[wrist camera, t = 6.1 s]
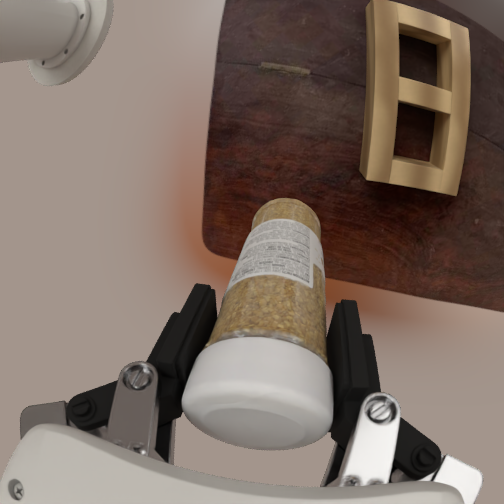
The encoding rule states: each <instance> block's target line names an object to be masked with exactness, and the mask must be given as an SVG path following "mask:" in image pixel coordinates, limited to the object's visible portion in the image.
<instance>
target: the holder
mask: <svg viewBox="0 0 504 504" xmlns="http://www.w3.org/2000/svg"><path fill="white" fill-rule="evenodd" d="M365 10H366V35H367V73H366V100H365V117H364V130H363V141H362V152H361V161H360V169H359V171H360V172H361V174H362V175H363V176H364V177H365V179H366V180H370V181H377V182H383V183H390V184H396V185H402V186H408V187H413V188H419V189H424V190H429V191H434V192H439V193H444V194H449V195H453V196H457V191H458V187H459V182H460V177H461V172H462V166H463V160H464V154H465V147H466V140H467V131H468V121H469V108H470V81H471V71H470V45H469V33H468V29H467V28H465V27H463V26H461V25H458V24H456V23H454V22H451V21H449V20H446V19H444V18H441V17H439V16H436V15H433V14H431V13H428V12H425V11H422V10H419V9H416V8H413V7H409V6H406V5H403V4H399V3H395V2H392V1H388V0H371V1H370V2H369V4H368V5H367V7H366V8H365ZM399 34H403V35H407V36H410V37H413V38H417V39H420V40H423V41H426V42H429V43H432V44H435V45H436V46H437V87H435V86H432V85H428V84H425V83H421V82H418V81H414V80H411V79H407V78H403V77H399ZM398 103H402V104H406V105H410V106H414V107H418V108H422V109H426V110H429V111H433V112H435V121H434V131H433V140H432V148H431V155H430V162H425V161H421V160H416V159H411V158H406V157H401V156H396V155H393V151H394V143H395V133H396V123H397V110H398Z"/></svg>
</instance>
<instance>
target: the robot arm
mask: <svg viewBox="0 0 504 504" xmlns="http://www.w3.org/2000/svg"><path fill="white" fill-rule="evenodd" d="M89 18H90V6H89V2H88V0H0V63H2V62H10V61H19V60H33V59H35V62H36V63H37V64H38V65H39V66H40V67H42V68H55V67H57V66H59V65H61V64H63V63H64V62H65V61H66V60H67V59H69V58H70V57H71V55H72V54H73V53H74V52H75V50H76V49H77V47H78V46H79V44H80V43H81V41H82V39H83V37H84V35H85V32H86V30H87V27H88V23H89ZM215 296H216V295H215V290H214V289H211V286H210V285H205V284H198V283H197V284H195V286H194V287H193V289H192V291H191V293H190V295H189V297H188V299H187V301H186V303H185V305H184V306H183V308H182V310H181V312H180V313H177V312H174V313H173V314H172V315H171V317H170V318H169V320H168V322H167V324H166V326H165V327H164V329H163V331H162V333H161V335H160V337H159V339H158V340H157V342H156V344H155V346H154V348H153V350H152V352H151V354H150V356H149V357H148V360H147V361H146V362H143V361H137V362H132V363H130V364H128V365H126V366H125V367H124V368H123V369H122V370H121V372H120V375H119V378H118V380H117V381H114V382H112V383H109V384H106V385H103V386H101V387H98V388H95V389H92V390H89V391H86V392H84V393H81V394H78V395H76V396H74V397H73V398H72V399H71V400H70V401H69V403H66V402H65V401H59V402H53V403H46V404H40V405H32V406H28V407H26V408H25V409H24V410H23V411H22V413H21V417H20V434H21V441H20V442H19V444H18V446H17V448H16V449H15V451H14V453H13V455H12V456H11V458H10V460H9V462H8V464H7V466H6V469H5V471H4V473H3V476H2V478H1V481H0V504H474V503H475V501H476V499H477V496H478V494H479V492H480V490H481V487H482V484H483V475H482V473H481V471H479V470H478V469H476V468H474V467H472V466H470V465H468V464H466V463H464V462H462V461H460V460H458V459H456V458H453V457H452V456H450V455H448V454H446V455H445V456H444V455H442V454H441V451H440V449H439V447H438V446H437V445H436V444H435V443H434V442H433V441H431V440H430V439H429V438H427V437H426V436H425V435H423V434H422V433H420V432H419V431H418V430H416V429H415V428H414V427H413V426H411V425H410V424H409V423H408V422H406V421H405V420H404V419H403V418H401V417H400V415H401V407H400V405H399V403H398V401H397V400H396V399H395V398H394V397H393V396H391V395H390V394H387V393H385V392H381V389H380V382H379V375H378V369H377V362H376V357H375V350H374V345H373V340H372V336H371V335H370V334H362V330H361V324H360V318H359V314H358V308H357V303H356V301H355V300H341V303H336V305H335V309H334V312H333V316H332V320H331V324H330V327H329V330H328V334H327V358H328V361H327V362H328V366H329V369H330V370H331V373H332V376H333V393H334V405H333V422H332V425H331V428H330V429H329V431H328V432H331V438H332V439H333V440H334V441H336V442H335V445H334V448H333V452H332V454H331V457H330V460H329V463H328V466H327V469H326V472H325V474H324V477H323V480H322V482H321V485H320V487H299V486H284V485H273V484H263V483H255V482H248V481H241V480H235V479H230V478H224V477H219V476H215V475H210V474H205V473H201V472H197V471H193V470H189V469H185V468H181V467H178V466H175V465H174V443H175V426H176V419H177V418H179V417H181V415H182V412H183V409H182V396H183V393H184V390H185V387H186V384H187V381H188V378H189V375H190V373H191V370H192V368H193V365H194V363H195V360H196V358H197V357H198V355H199V354H200V353H201V352H202V350H203V348H204V347H205V345H206V344H207V343H208V341H209V338H210V336H211V333H212V331H213V328H214V326H215V323H216V321H217V308H216V297H215Z"/></svg>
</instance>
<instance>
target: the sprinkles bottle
mask: <svg viewBox="0 0 504 504" xmlns="http://www.w3.org/2000/svg"><path fill="white" fill-rule="evenodd" d="M320 234H321V228H320V222H319V220H318V218H317V216H316V214H315V213H314V211H313V210H311V208H310V207H308V206H307V205H306V204H304V203H302V202H301V201H299V200H296V199H289V198H279V199H275V200H272V201H269V202H268V203H266V204H265V205H263V206H262V207H261V208H260V209H259V210H258V212H257V213H256V215H255V217H254V219H253V223H252V230H251V233H250V234H249V236H248V237H247V239H246V242H245V244H244V247H243V249H242V252H241V254H240V256H239V259H238V262H237V264H236V266H235V269H234V272H233V274H232V277H231V279H230V282H229V284H228V287H227V289H226V292H225V294H224V297H223V300H222V305H221V309H220V312H219V315H218V318H217V321H216V323H215V326H214V328H213V331H212V333H211V336H210V338H209V341H208V343H207V344H206V345H205V347H204V348H203V350H202V352H201V353H200V354H199V355H198V357H197V358H196V360H195V363H194V365H193V368H192V370H191V373H190V375H189V378H188V381H187V384H186V387H185V390H184V393H183V396H182V409H183V412H184V414H185V416H186V417H187V419H188V420H189V421H190V422H191V423H192V424H193V425H194V426H195V427H197V428H198V429H199V430H201V431H202V432H204V433H205V434H207V435H209V436H211V437H213V438H215V439H218V440H220V441H223V442H225V443H228V444H232V445H235V446H240V447H244V448H249V449H257V450H288V449H294V448H299V447H303V446H306V445H309V444H312V443H314V442H316V441H318V440H319V439H321V438H322V437H323V436H324V435H326V434H327V432H328V431H329V429H330V428H331V425H332V422H333V405H334V393H333V376H332V373H331V370H330V369H329V366H328V362H327V361H328V358H327V337H326V310H325V303H326V297H325V273H324V261H323V252H322V247H321V244H320Z"/></svg>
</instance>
